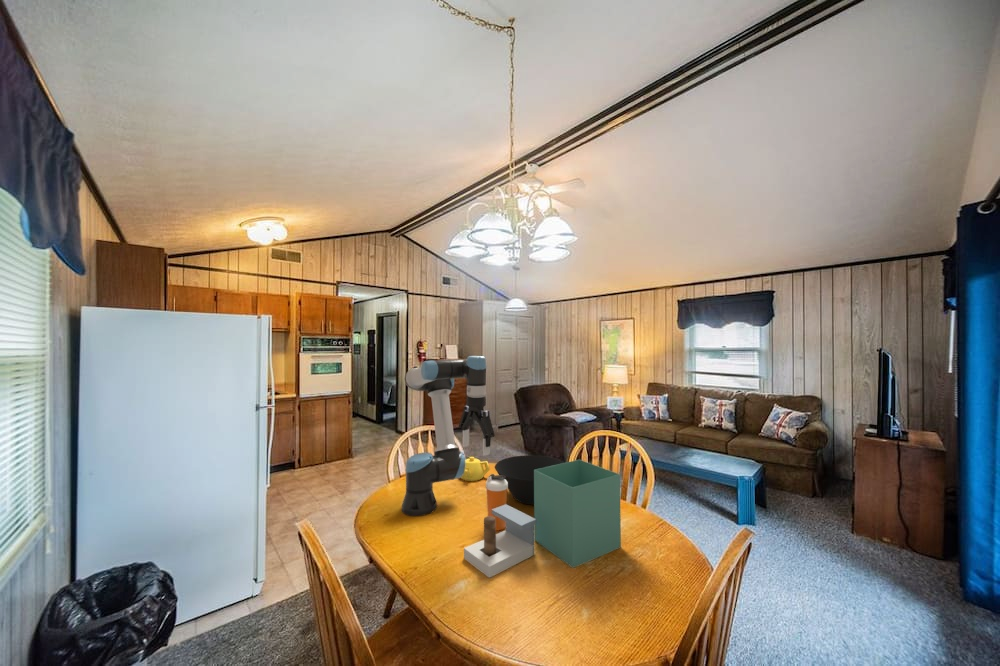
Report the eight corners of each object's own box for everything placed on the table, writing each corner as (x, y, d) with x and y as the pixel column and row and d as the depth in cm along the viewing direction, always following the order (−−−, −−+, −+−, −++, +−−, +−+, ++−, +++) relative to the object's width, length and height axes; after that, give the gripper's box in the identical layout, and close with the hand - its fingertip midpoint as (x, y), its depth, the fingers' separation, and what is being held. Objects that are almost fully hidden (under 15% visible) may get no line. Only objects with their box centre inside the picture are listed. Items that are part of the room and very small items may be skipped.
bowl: (581, 493, 183) (581, 462, 184) (550, 523, 153) (550, 486, 154) (518, 479, 202) (518, 451, 203) (480, 503, 172) (479, 470, 173)
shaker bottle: (505, 532, 146) (505, 480, 146) (483, 530, 148) (483, 479, 148) (509, 522, 154) (509, 473, 155) (488, 520, 156) (488, 471, 157)
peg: (491, 556, 130) (490, 515, 130) (498, 561, 127) (498, 519, 127) (481, 560, 127) (481, 518, 128) (489, 565, 124) (488, 522, 125)
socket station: (462, 557, 129) (462, 520, 130) (506, 537, 142) (505, 504, 142) (491, 579, 117) (491, 538, 117) (536, 555, 130) (536, 519, 130)
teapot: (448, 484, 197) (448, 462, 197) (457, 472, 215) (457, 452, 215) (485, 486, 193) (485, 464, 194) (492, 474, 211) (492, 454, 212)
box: (572, 568, 123) (572, 487, 124) (534, 540, 140) (533, 469, 141) (621, 547, 135) (620, 474, 136) (580, 523, 153) (579, 459, 153)
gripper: (450, 392, 153) (450, 444, 153) (488, 401, 134) (487, 461, 134) (466, 391, 158) (465, 441, 158) (504, 399, 139) (503, 456, 139)
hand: (475, 450), depth 146 cm, fingers open, 13 cm apart
